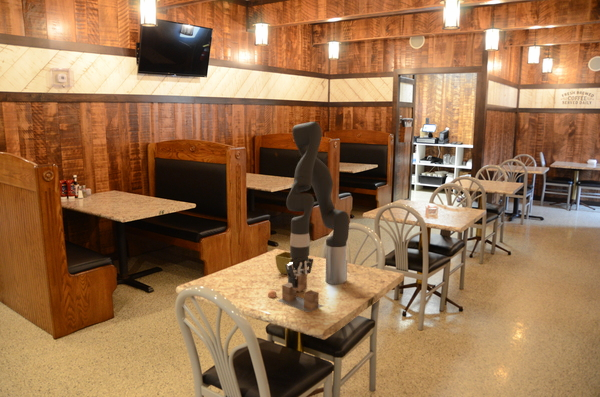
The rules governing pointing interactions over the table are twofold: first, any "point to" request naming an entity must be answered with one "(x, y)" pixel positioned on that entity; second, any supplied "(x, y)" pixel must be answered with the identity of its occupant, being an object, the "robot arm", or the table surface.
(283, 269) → the flower pot
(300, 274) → the loose block
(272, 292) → the ball
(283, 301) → the slate board
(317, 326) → the table surface
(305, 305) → the block
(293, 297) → the block
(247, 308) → the table surface
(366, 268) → the table surface
